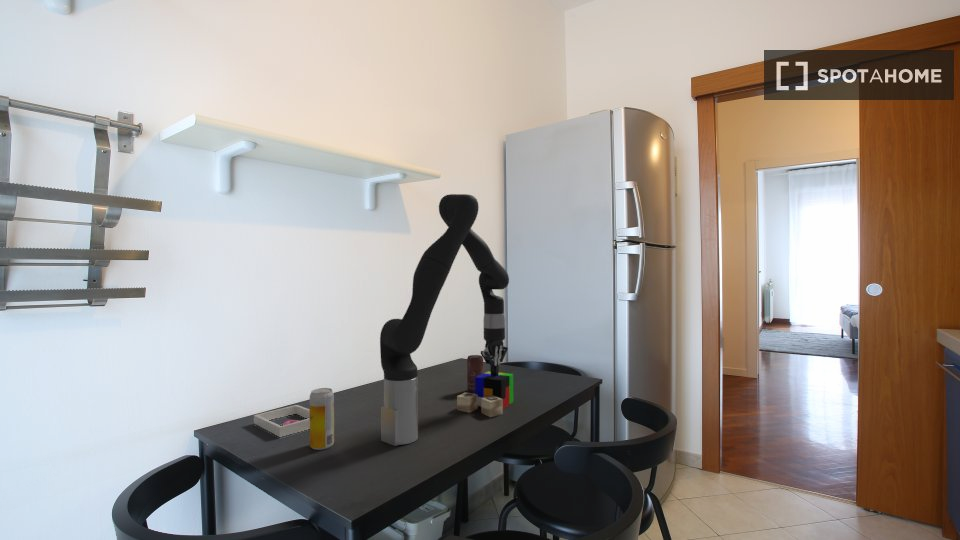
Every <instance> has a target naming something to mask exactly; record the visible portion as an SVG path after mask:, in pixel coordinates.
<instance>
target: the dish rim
mask: <svg viewBox="0 0 960 540" xmlns="http://www.w3.org/2000/svg"><path fill="white" fill-rule="evenodd" d="M293 414H298V415H300V416H299V417H301V416H302V417H301V418H303V417H304V418H303V419H302V420H299V421H298V422H294V423H290V424H287V425H283V426H280V425H281V424H277V423H276V422H275V421H269V420H271V419H275V418H280V417H284V416H288V415H292V416H294V415H293ZM298 415H297V416H298ZM288 417H289V416H288ZM284 418H285V417H284ZM305 418H307V419H305ZM254 423H255V424H257V425H259V426H261V427H262V428H264V429H266V430H268V431H270V432H272V433H274V434H275V435H277V436H279V437H282V436H286V435H289V434H293V433H297V432H300V433H302V432H301V431H303V432H305V431H304V430H307V431H309V430H308V429H310V408H307V407H304V406H301V405H298V404H294V405H290V406H287V407H282V408H278V409H274V410H271V411H266V412H262V413H257V414H254V415H253V424H254ZM297 434H298V433H297ZM293 435H294V434H293Z"/></svg>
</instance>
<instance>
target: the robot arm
mask: <svg viewBox="0 0 960 540" xmlns="http://www.w3.org/2000/svg"><path fill="white" fill-rule="evenodd" d="M479 207H480V206H479V201H478V199H477V198H476V197H475V195H471V194H466V193H465V194H463V193H462V194H461V193H459V194H455V193H451V194H446V195H444V196H443V197H442V198H441V199H440V201H439V203H438V213H439V215H440V218H441V219H442V221H443V222H444V224H445V225H446V226H447V229H446V230H445V231H444V233H443V234H442V235H441V236H440V237H439V238H437V240H435V241H434V242H433V243H432V244H431V245H430V246H429V247H427V249H425V250H424V253H423V254H422V255H421V257H420V259H419V262H418V264H417V265H416V268H415V270H414V273H413V277H412V278H413V279H412V289H411V290H412V292H411V293H412V295H411V299H410V303H409V305H408V307H407V309H406V311H405V313H404V315H403V317H402V318H391V319H389V320H388V321H386V322H385V323H384V324H383V326H382V328H381V330H380V335H379V348H380V349H379V350H380V352H379V353H380V365H381V368H382V371H383V405H382V406H381V407H380V428H381V429H380V434H381V435H380V439H381V442H384V443H386V444H388V445H391V446H393V447H397V446H400V445H408V444H411V443H414V442H416V441H417V440H418V439H419V435H418V434H419V416H418V415H419V410H418V409H419V408H418V407H419V405H418V404H419V403H418V402H419V401H418V396H419V395H418V393H419V392H418V390H419V388H418V387H419V385H418V384H419V383H418V381H419V380H418V378H419V377H418V376H419V375H418V372H419V371H418V367H417V365H416V363H415V362H414V361H413V358H412V355H411V354H412V353H414V352H416V351H417V349H419V347H420V345H421V344H422V341H423V339H424V337H425V333H426V330H427V328H428V324H429V321H430V317H431V315H432V312H433V309H434V308H435V305H436V303H437V300H438V299H439V295H440V293H441V291H442V289H443V287H444V285H445V283H446V280H447V278H448V276H449V274H450V271H451V269H452V266H453V264H454V261H455V260H456V258H457V255H458V253H459V252H460V249H461V247H462V246H463V248H464V249H465V251H466V252H467V253H468V255H469V257H470V259H471V261H472V263H473V265H474V266H475V268H476V270H477V271H478V272H480V274H479V275H478V284H479V288H480V293H481V295H482V296H481V297H482V299H483V313H484V314H483V340H484V341H485V345H484V350H481V351H480V356H482V357H483V361H484V362H485V363H486V365H490V366H489V367H490V372H491V375H492V376H498V373H500V369H499V367H500V366H499V365H500V364H501V363H503V362H504V359H505V357H506V355H507V352H508V346H505V345H504V341H505V340H506V318H505V300H504V298H503V297H502V296H499V295H496V294H495V292H494V291H493V290H504V289H506V288H508V285H509V284H510V278H509V274H508V272H507V270H506V269H505V268H504V266H502V265H501V264H500V262H498V260H497V259H496V258H495V257H494V254H493V253H492V250H491V248H490V247H489V245H488V244H487V243H486V241H485V240H484V239H483V238H482V237H480V236H479V234H477V233H476V232H475V231H474V230H473V229H472V227H473V225H474V224H475V221H476V220H477V217H478V213H479Z"/></svg>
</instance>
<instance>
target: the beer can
mask: <svg viewBox="0 0 960 540" xmlns="http://www.w3.org/2000/svg"><path fill="white" fill-rule="evenodd" d="M334 393H335V392H333V389H332V388H329V387H322V388H317V389H316V388H315V389H312V390H311V392H310V394H309V409H310V430H309V447H310V448H311V449H312V450H314V451H324V450H327V449H329V448H331V447H332V446H333V445H334V444H335V395H334Z"/></svg>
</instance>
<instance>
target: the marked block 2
mask: <svg viewBox="0 0 960 540" xmlns="http://www.w3.org/2000/svg"><path fill="white" fill-rule="evenodd" d="M480 407H481V409H480V410H481V411H480V412H481V414H483V415H485V416H487V417H489V418H494V417H498V416H501V415H502V416H503V414H504V408H503V399H501V398H498V397H495V396H490V397H485V398H481V406H480Z"/></svg>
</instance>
